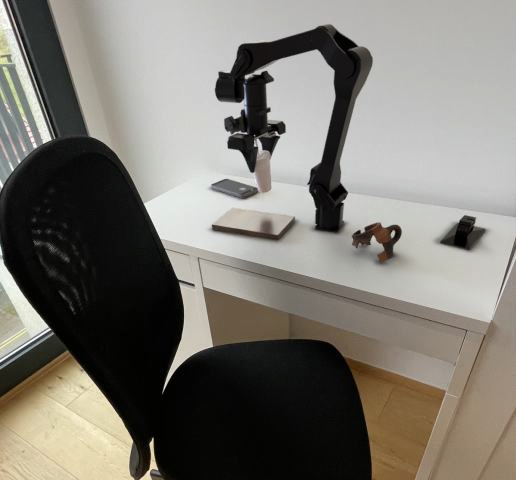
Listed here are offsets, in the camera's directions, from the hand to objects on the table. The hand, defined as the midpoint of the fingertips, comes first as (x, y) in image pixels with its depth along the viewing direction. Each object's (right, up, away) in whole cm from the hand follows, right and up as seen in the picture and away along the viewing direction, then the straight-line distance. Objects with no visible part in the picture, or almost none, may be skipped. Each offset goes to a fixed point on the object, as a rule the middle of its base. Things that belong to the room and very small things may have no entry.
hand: (259, 168), depth 111 cm
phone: (-8, +3, +23) cm, 25 cm away
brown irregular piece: (+28, -26, -13) cm, 41 cm away
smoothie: (+2, -4, +4) cm, 6 cm away
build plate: (+51, -21, -10) cm, 56 cm away
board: (-2, -15, +2) cm, 15 cm away
